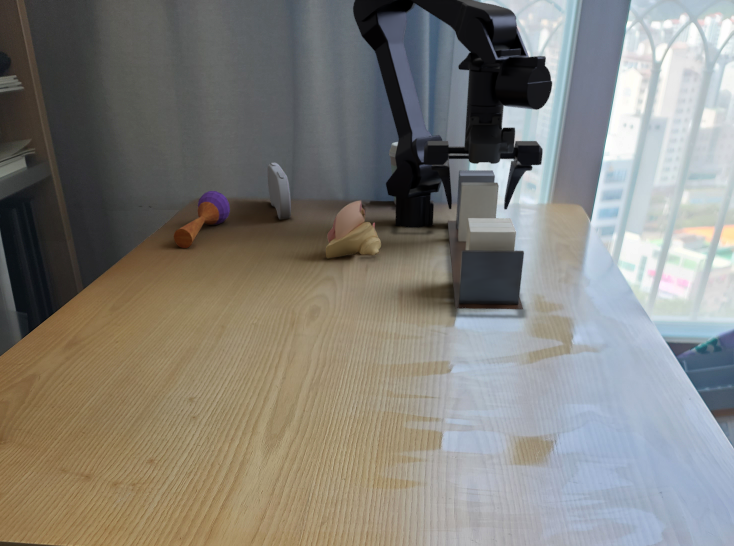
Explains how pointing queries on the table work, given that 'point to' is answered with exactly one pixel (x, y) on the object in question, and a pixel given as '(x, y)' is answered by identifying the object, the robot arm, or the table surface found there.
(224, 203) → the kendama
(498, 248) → the cream books
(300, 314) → the table surface
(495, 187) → the ivory book
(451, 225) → the book rack
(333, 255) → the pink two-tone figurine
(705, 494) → the table surface
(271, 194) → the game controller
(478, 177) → the grey books
